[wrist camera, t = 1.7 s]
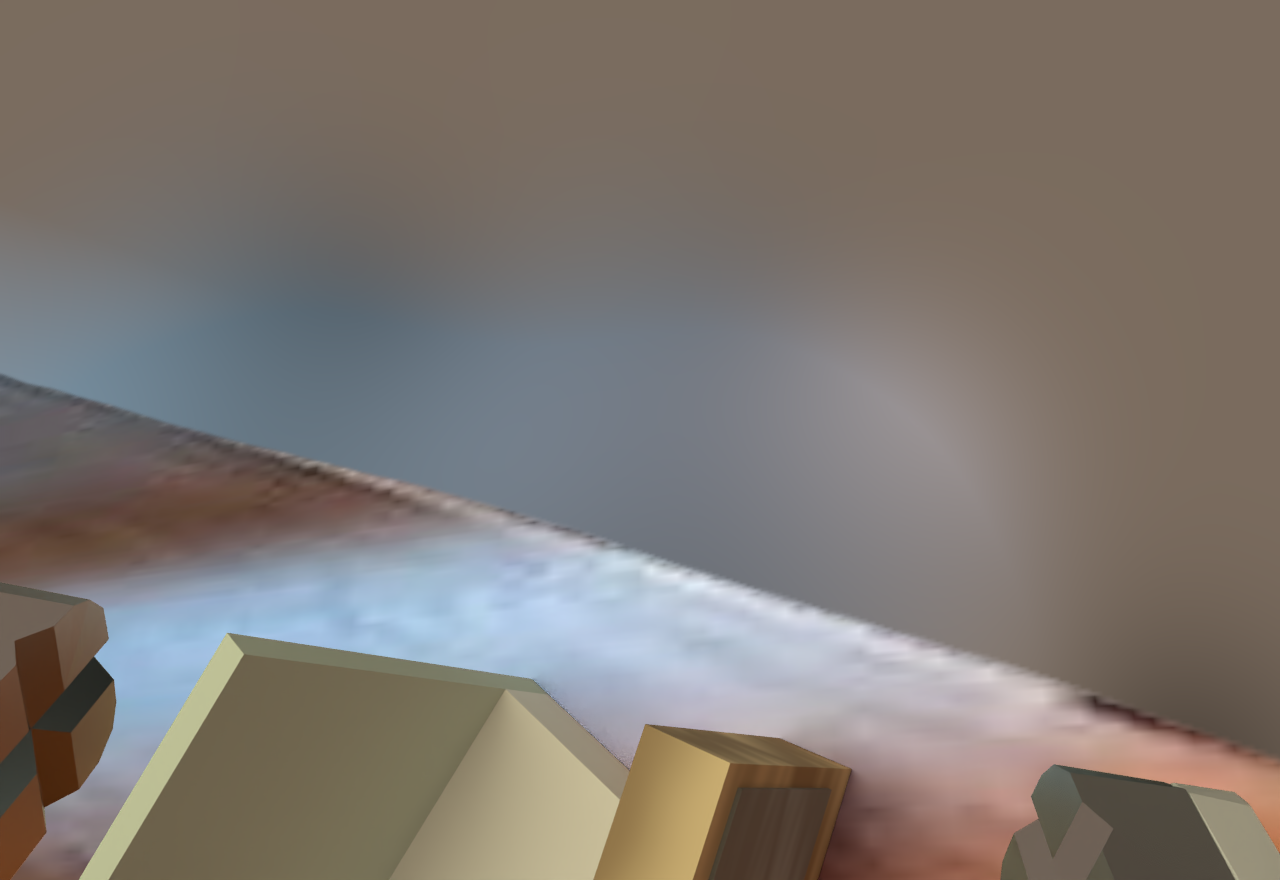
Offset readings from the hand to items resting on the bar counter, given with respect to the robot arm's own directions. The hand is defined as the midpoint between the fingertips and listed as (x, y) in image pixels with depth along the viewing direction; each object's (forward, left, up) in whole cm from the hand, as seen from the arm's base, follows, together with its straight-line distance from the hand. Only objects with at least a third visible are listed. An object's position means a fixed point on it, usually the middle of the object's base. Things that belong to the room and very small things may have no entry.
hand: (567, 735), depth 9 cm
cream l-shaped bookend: (+15, +20, -29) cm, 38 cm away
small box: (+7, +7, -29) cm, 31 cm away
